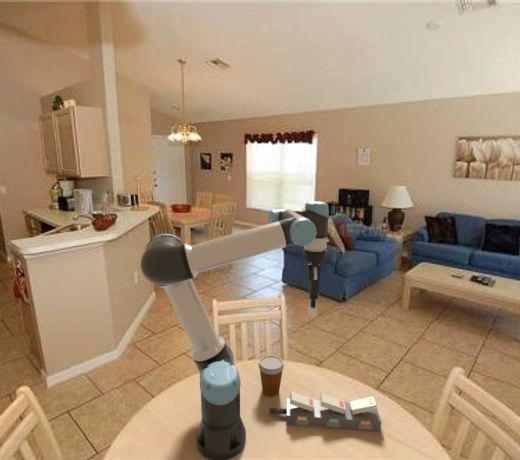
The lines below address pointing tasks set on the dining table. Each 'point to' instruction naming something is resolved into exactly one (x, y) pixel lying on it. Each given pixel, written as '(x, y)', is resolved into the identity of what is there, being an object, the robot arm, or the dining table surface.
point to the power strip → (330, 417)
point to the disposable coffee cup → (271, 374)
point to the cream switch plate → (332, 403)
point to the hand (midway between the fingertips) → (312, 314)
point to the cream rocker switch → (363, 405)
